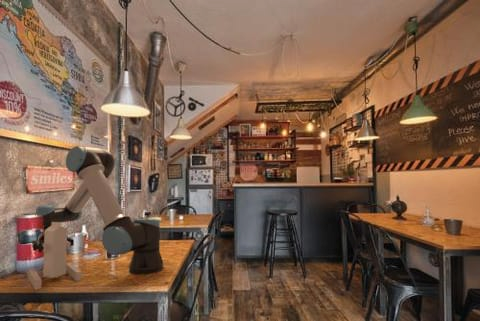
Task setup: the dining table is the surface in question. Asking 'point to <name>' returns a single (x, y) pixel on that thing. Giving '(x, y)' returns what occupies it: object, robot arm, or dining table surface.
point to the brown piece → (37, 279)
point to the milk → (55, 250)
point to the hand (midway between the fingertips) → (57, 247)
